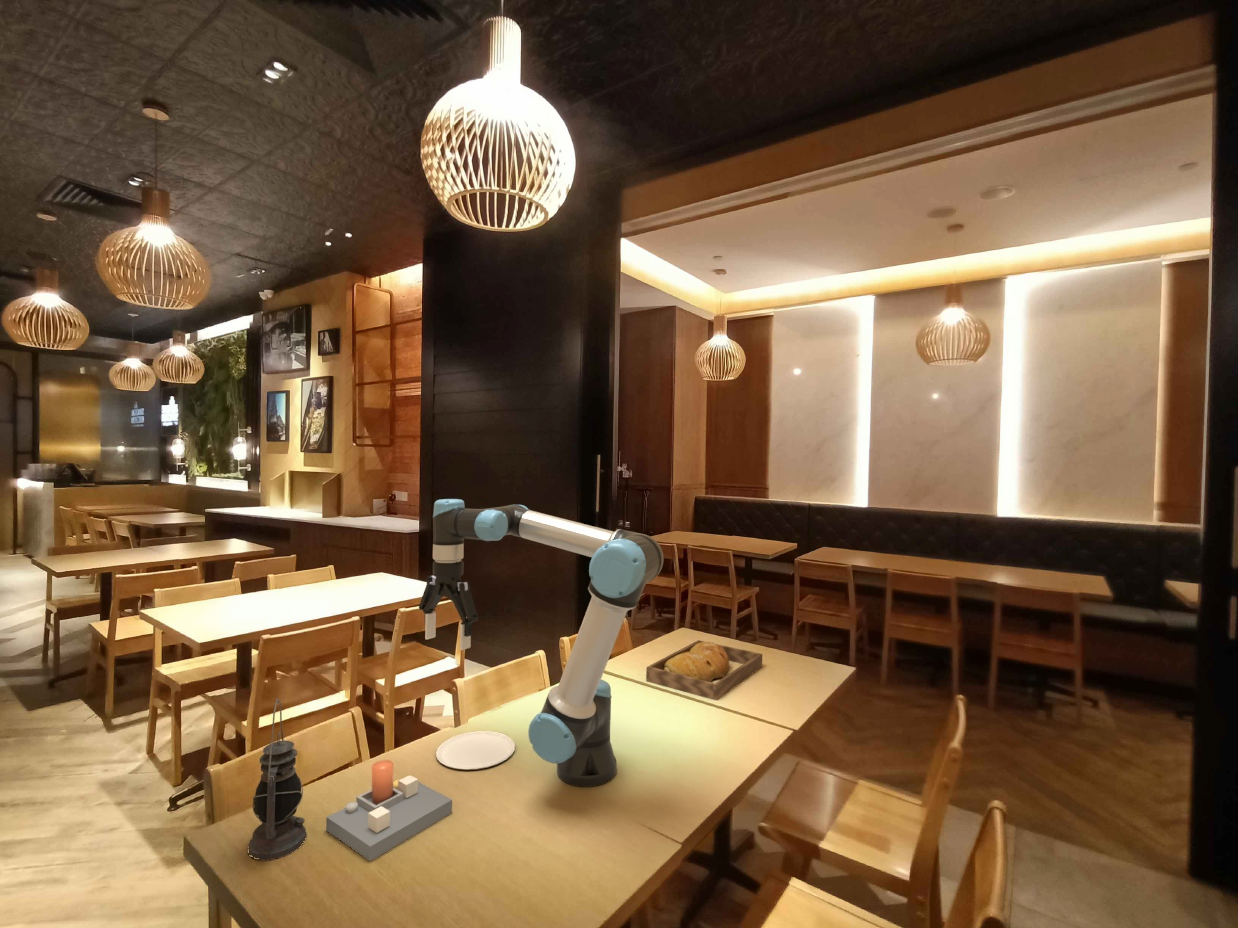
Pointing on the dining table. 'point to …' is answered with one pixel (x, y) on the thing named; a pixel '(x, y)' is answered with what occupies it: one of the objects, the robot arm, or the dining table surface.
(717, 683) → the bread tray
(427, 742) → the dining table surface
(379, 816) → the toggle
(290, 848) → the lantern
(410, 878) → the dining table surface
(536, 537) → the robot arm
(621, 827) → the dining table surface
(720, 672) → the bread
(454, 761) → the plate
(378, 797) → the cap
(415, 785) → the toggle
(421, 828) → the grey flat block
